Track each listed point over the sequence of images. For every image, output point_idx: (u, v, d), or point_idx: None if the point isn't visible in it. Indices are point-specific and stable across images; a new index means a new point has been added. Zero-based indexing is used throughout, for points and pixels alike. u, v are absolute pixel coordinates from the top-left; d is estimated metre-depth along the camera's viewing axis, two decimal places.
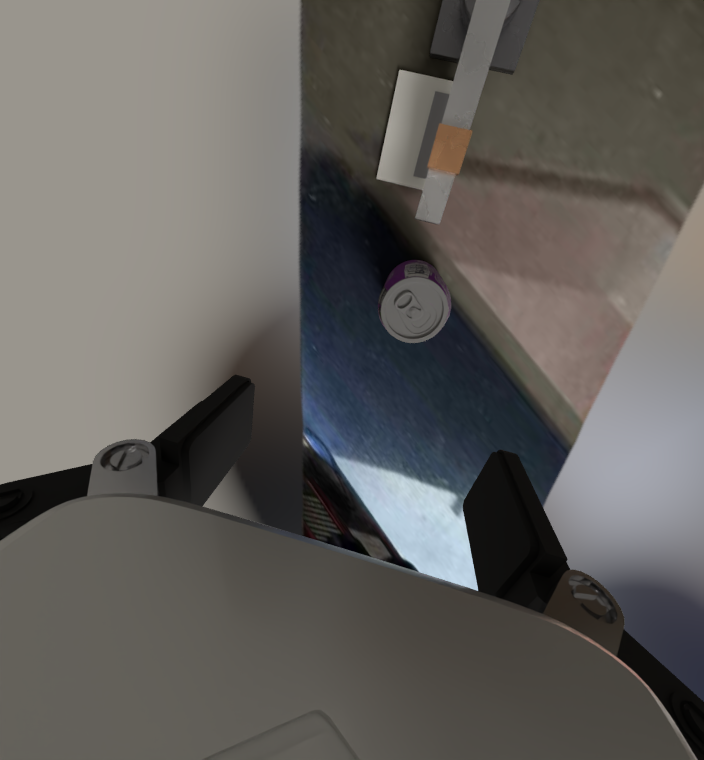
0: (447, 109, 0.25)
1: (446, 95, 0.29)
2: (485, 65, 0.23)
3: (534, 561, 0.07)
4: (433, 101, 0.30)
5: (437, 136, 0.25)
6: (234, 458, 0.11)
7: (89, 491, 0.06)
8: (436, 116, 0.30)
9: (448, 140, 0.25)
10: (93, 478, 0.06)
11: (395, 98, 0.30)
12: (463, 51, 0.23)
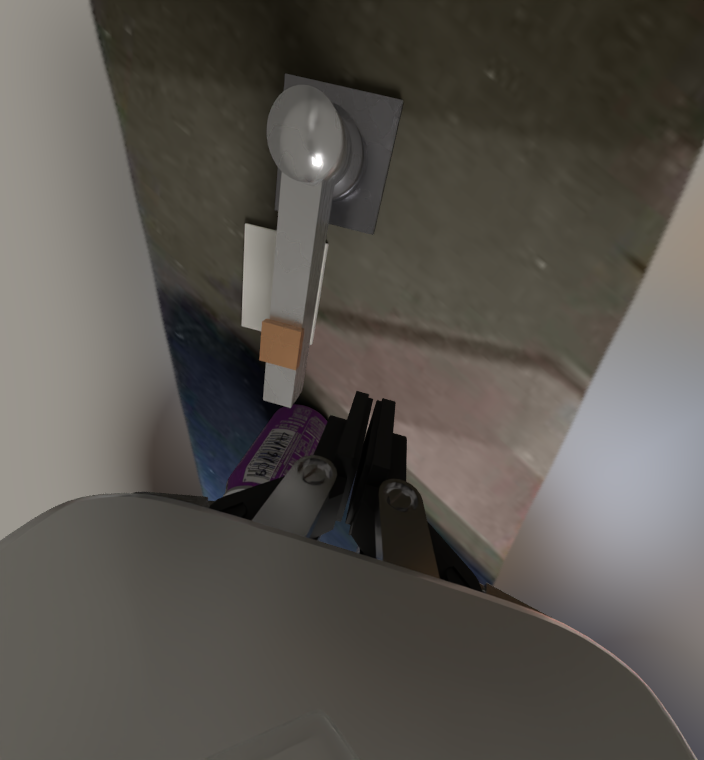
0: (273, 303, 0.21)
1: None
2: (305, 265, 0.19)
3: (368, 474, 0.09)
4: None
5: (263, 333, 0.21)
6: None
7: (278, 485, 0.07)
8: None
9: (275, 338, 0.21)
10: (287, 476, 0.08)
11: (246, 251, 0.26)
12: (277, 249, 0.19)
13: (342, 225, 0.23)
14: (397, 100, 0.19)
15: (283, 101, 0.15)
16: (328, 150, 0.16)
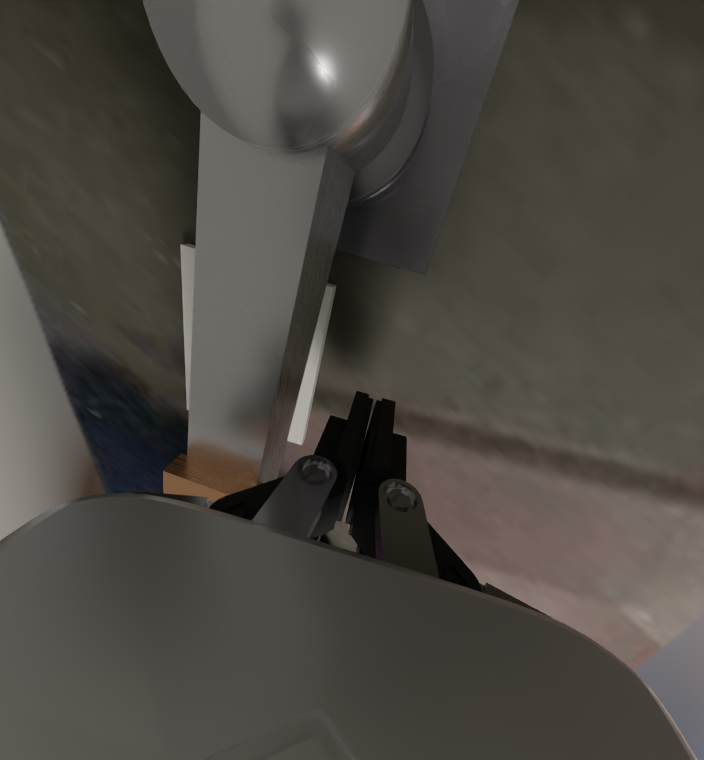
0: (193, 429, 0.09)
1: None
2: (267, 365, 0.08)
3: (368, 474, 0.09)
4: None
5: (167, 491, 0.09)
6: None
7: (278, 486, 0.07)
8: None
9: None
10: (287, 476, 0.08)
11: (186, 293, 0.14)
12: (196, 322, 0.07)
13: (365, 255, 0.12)
14: None
15: None
16: (357, 34, 0.04)
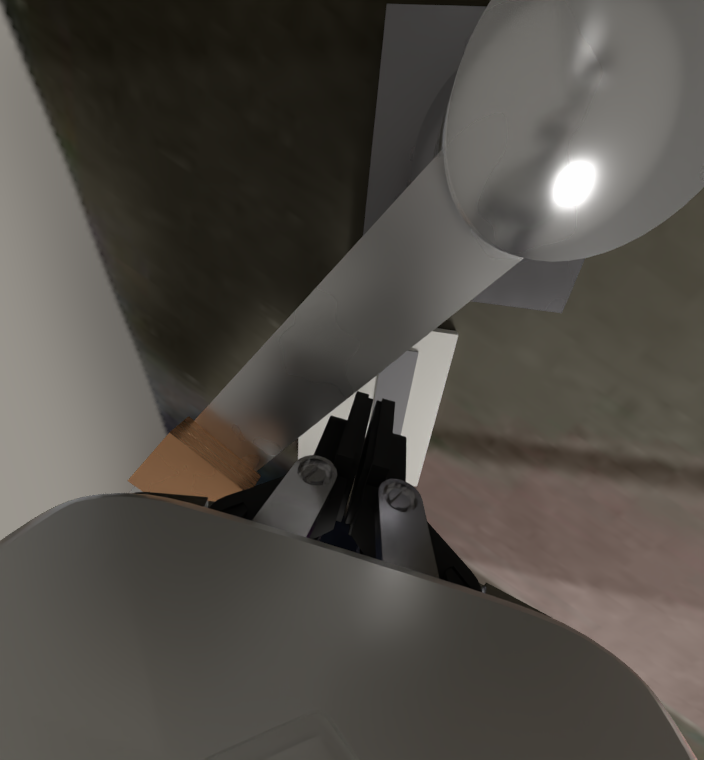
0: (218, 402, 0.08)
1: (408, 351, 0.13)
2: (338, 388, 0.08)
3: (368, 474, 0.09)
4: None
5: (160, 451, 0.08)
6: None
7: (279, 486, 0.07)
8: (393, 382, 0.14)
9: (185, 473, 0.09)
10: (287, 476, 0.08)
11: None
12: (293, 319, 0.07)
13: (496, 301, 0.12)
14: None
15: None
16: (620, 210, 0.05)
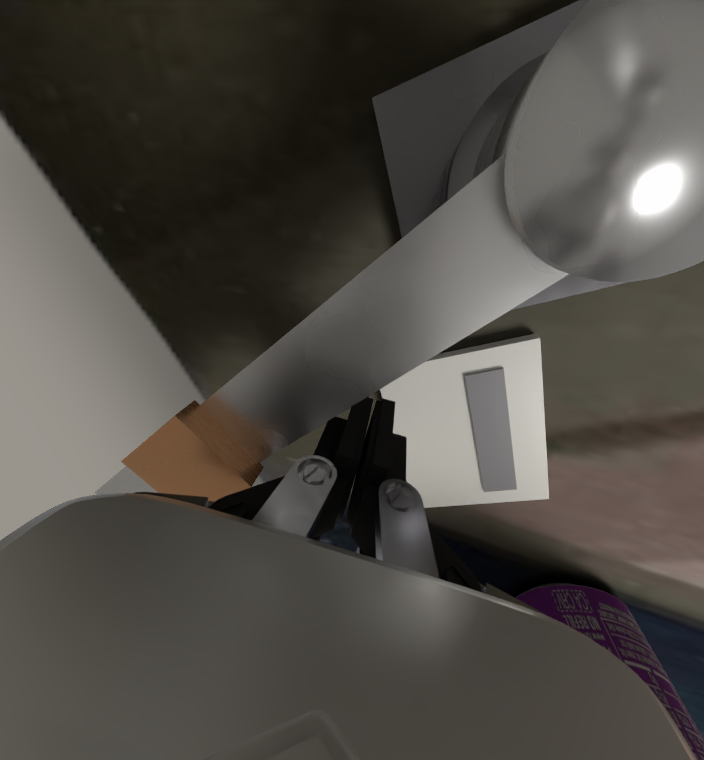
0: (228, 388, 0.08)
1: (492, 371, 0.13)
2: (358, 386, 0.07)
3: (368, 474, 0.09)
4: (468, 389, 0.14)
5: (162, 434, 0.08)
6: None
7: (278, 486, 0.07)
8: (486, 404, 0.14)
9: (186, 459, 0.08)
10: (287, 476, 0.08)
11: None
12: (322, 311, 0.07)
13: (571, 292, 0.11)
14: None
15: None
16: (677, 238, 0.05)
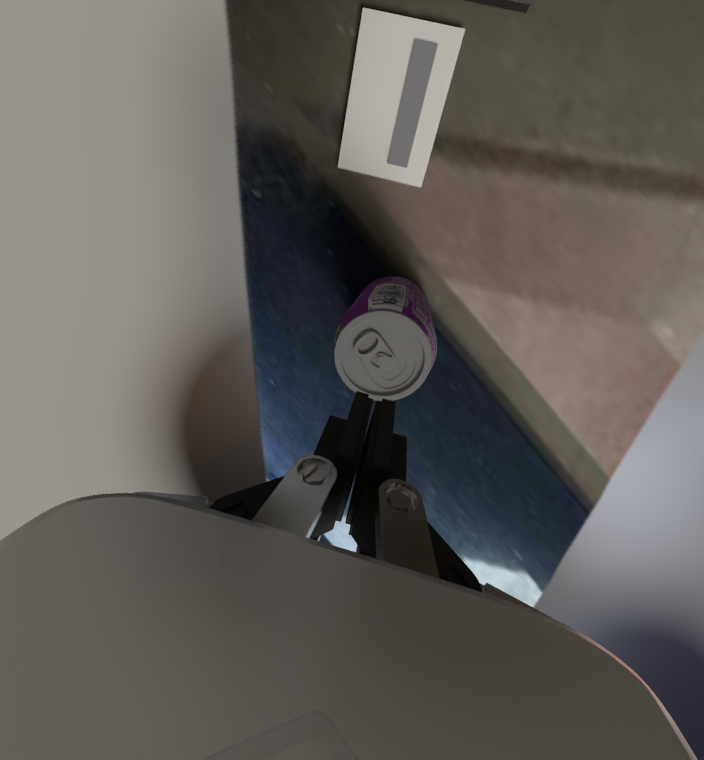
0: None
1: (430, 45, 0.20)
2: None
3: (368, 474, 0.09)
4: (412, 54, 0.21)
5: None
6: None
7: (278, 485, 0.07)
8: (417, 76, 0.21)
9: None
10: (287, 476, 0.08)
11: (358, 51, 0.21)
12: None
13: None
14: None
15: None
16: None
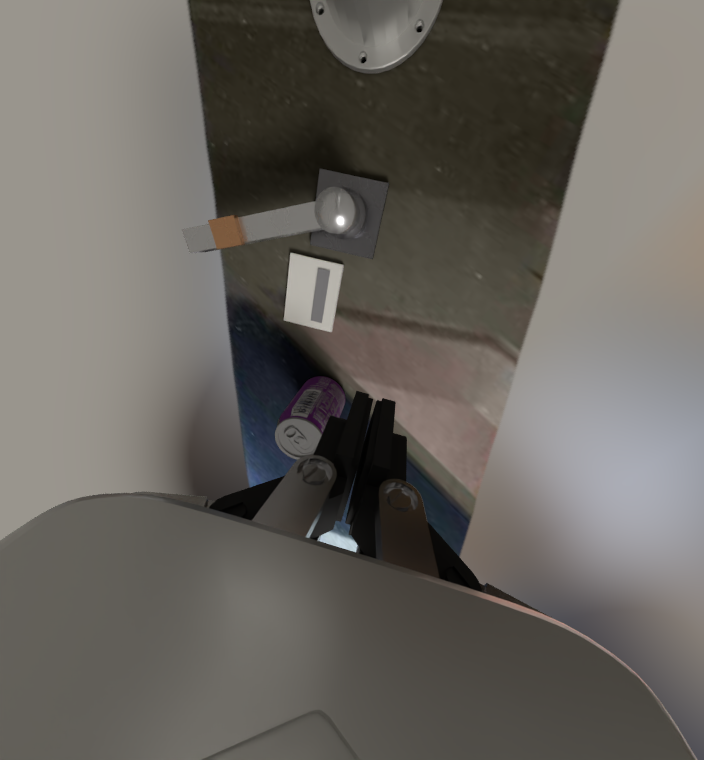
0: (248, 217, 0.31)
1: (326, 270, 0.38)
2: (278, 231, 0.31)
3: (368, 474, 0.09)
4: (317, 274, 0.39)
5: (226, 218, 0.31)
6: None
7: (278, 486, 0.07)
8: (321, 283, 0.39)
9: (228, 228, 0.31)
10: (287, 476, 0.08)
11: (290, 270, 0.39)
12: (278, 210, 0.31)
13: (353, 253, 0.37)
14: (385, 183, 0.33)
15: (343, 194, 0.29)
16: (333, 227, 0.30)
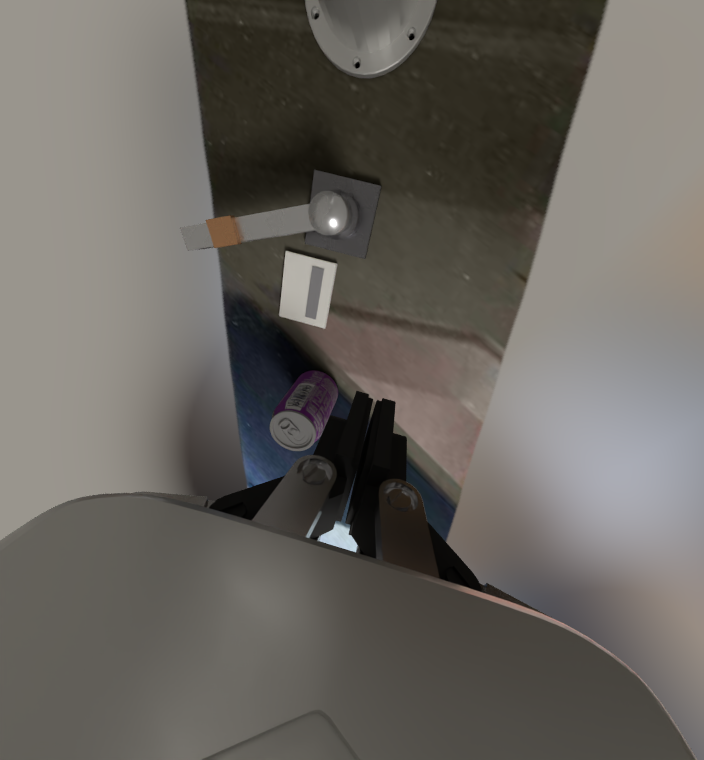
0: (244, 217, 0.33)
1: (320, 268, 0.40)
2: (274, 232, 0.33)
3: (368, 474, 0.09)
4: (312, 272, 0.40)
5: (223, 218, 0.32)
6: None
7: (278, 485, 0.07)
8: (316, 280, 0.41)
9: (225, 228, 0.33)
10: (287, 476, 0.08)
11: (285, 267, 0.41)
12: (273, 211, 0.32)
13: (346, 253, 0.38)
14: (377, 185, 0.34)
15: (336, 198, 0.30)
16: (326, 229, 0.31)
